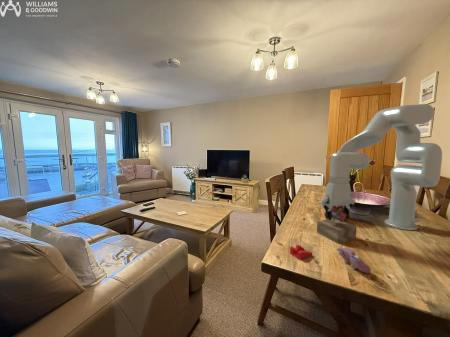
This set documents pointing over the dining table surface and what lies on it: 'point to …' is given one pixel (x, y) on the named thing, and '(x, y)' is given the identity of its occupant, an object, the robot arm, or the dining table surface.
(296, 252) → the bracket
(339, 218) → the geometric puzzle
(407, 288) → the dining table surface
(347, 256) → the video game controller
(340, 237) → the walnut block
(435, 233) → the dining table surface
